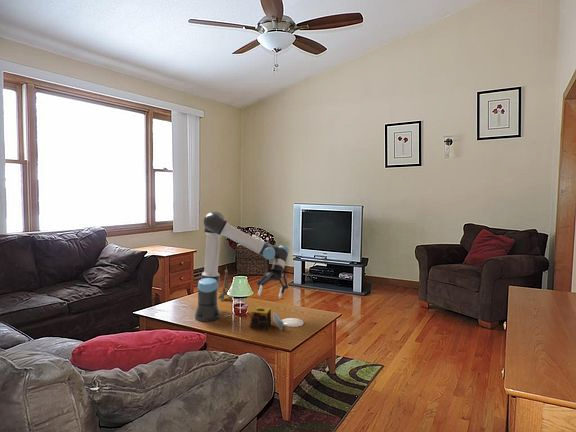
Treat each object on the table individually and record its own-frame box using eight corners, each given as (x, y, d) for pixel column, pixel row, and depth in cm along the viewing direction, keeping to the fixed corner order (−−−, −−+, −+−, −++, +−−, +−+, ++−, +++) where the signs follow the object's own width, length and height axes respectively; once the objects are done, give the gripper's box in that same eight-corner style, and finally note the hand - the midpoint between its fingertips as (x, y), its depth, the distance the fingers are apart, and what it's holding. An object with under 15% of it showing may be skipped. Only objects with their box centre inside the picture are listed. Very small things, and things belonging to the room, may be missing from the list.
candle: (267, 330, 227) (267, 313, 226) (250, 328, 229) (250, 311, 228) (271, 324, 237) (271, 308, 236) (255, 322, 239) (255, 306, 238)
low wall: (280, 330, 227) (280, 322, 227) (273, 320, 244) (273, 312, 244) (282, 330, 227) (282, 321, 227) (275, 320, 245) (275, 312, 244)
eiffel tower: (219, 301, 280) (220, 266, 279) (217, 297, 290) (217, 263, 288) (234, 300, 284) (235, 266, 282) (231, 296, 294) (232, 263, 292)
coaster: (283, 327, 232) (283, 326, 232) (277, 319, 245) (277, 318, 245) (306, 326, 235) (306, 325, 235) (299, 318, 249) (299, 317, 249)
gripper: (297, 272, 254) (289, 301, 241) (261, 269, 262) (251, 297, 249) (295, 265, 249) (287, 295, 236) (258, 262, 257) (248, 290, 244)
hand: (268, 296), depth 242 cm, fingers open, 13 cm apart
